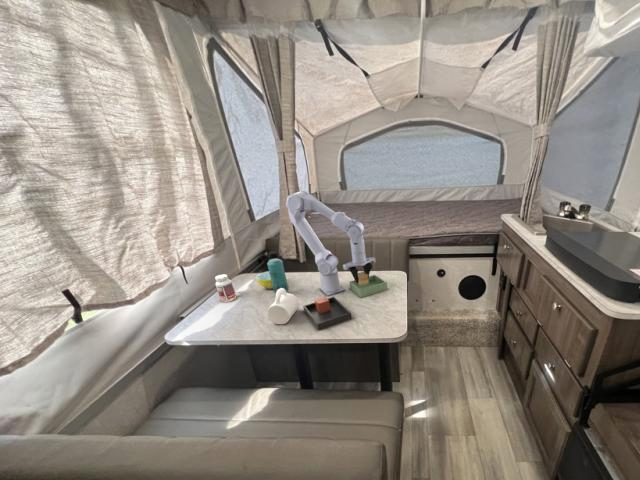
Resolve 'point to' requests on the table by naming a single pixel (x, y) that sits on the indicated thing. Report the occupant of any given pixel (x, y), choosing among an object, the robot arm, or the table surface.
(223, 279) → the pill bottle
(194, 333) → the table surface
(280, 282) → the beverage bottle
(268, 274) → the bowl
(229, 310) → the table surface
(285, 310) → the mug
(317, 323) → the pan
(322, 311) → the terracotta block
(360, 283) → the beech block
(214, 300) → the table surface
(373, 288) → the bin
